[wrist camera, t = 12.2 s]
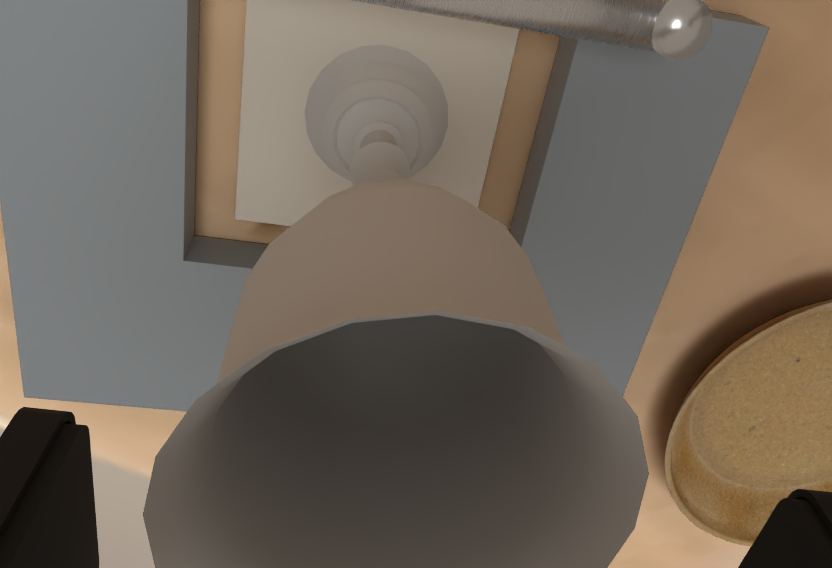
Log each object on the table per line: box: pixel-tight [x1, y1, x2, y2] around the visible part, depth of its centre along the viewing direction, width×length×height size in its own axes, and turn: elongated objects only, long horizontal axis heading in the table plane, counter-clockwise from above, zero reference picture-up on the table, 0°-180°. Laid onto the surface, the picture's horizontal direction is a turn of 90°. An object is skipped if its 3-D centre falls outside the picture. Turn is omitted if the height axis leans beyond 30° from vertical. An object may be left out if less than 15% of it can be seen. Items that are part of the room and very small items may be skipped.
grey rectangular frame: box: [0, 0, 769, 411], centre depth 27 cm, size 24×18×2 cm
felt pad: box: [235, 0, 520, 226], centre depth 26 cm, size 9×9×1 cm
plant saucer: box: [664, 300, 832, 546], centre depth 33 cm, size 15×15×3 cm
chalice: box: [143, 45, 649, 568], centre depth 18 cm, size 7×7×18 cm
